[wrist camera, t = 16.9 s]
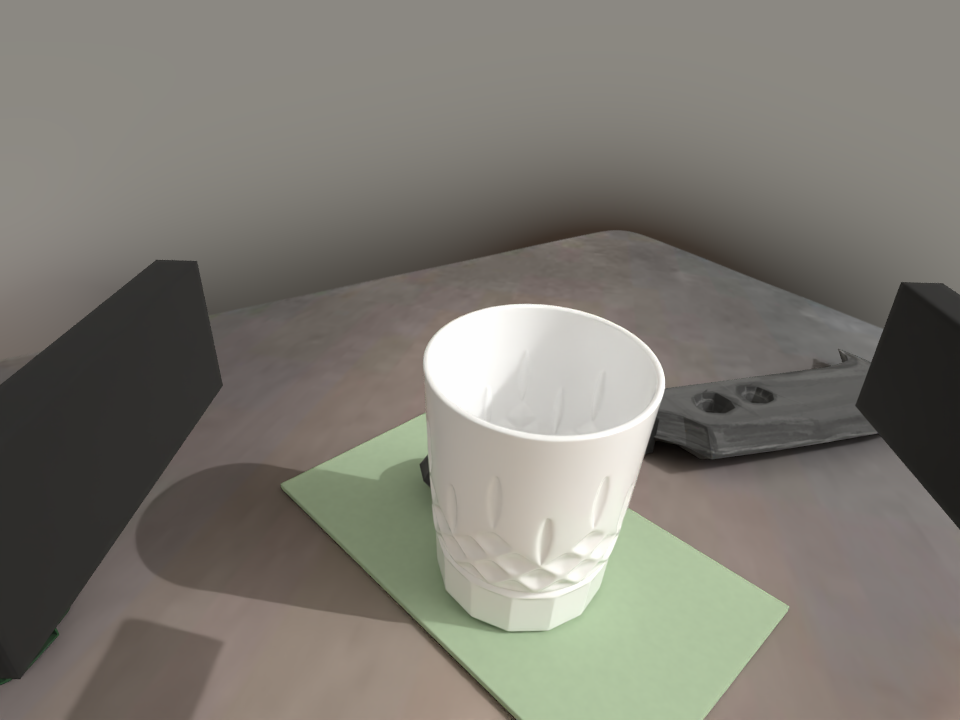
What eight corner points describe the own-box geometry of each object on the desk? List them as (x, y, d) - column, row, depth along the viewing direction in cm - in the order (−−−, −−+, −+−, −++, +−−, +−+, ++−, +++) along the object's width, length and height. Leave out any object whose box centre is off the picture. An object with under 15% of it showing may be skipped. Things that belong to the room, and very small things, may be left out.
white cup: (614, 668, 23) (674, 459, 18) (400, 627, 24) (393, 416, 19) (615, 507, 30) (659, 317, 24) (446, 480, 31) (451, 291, 25)
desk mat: (281, 488, 32) (280, 483, 31) (451, 404, 38) (451, 399, 38) (622, 823, 19) (623, 818, 19) (787, 611, 26) (789, 606, 25)
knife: (397, 384, 35) (853, 331, 43) (399, 418, 36) (843, 361, 44) (431, 486, 28) (975, 401, 35) (431, 526, 29) (959, 435, 36)
